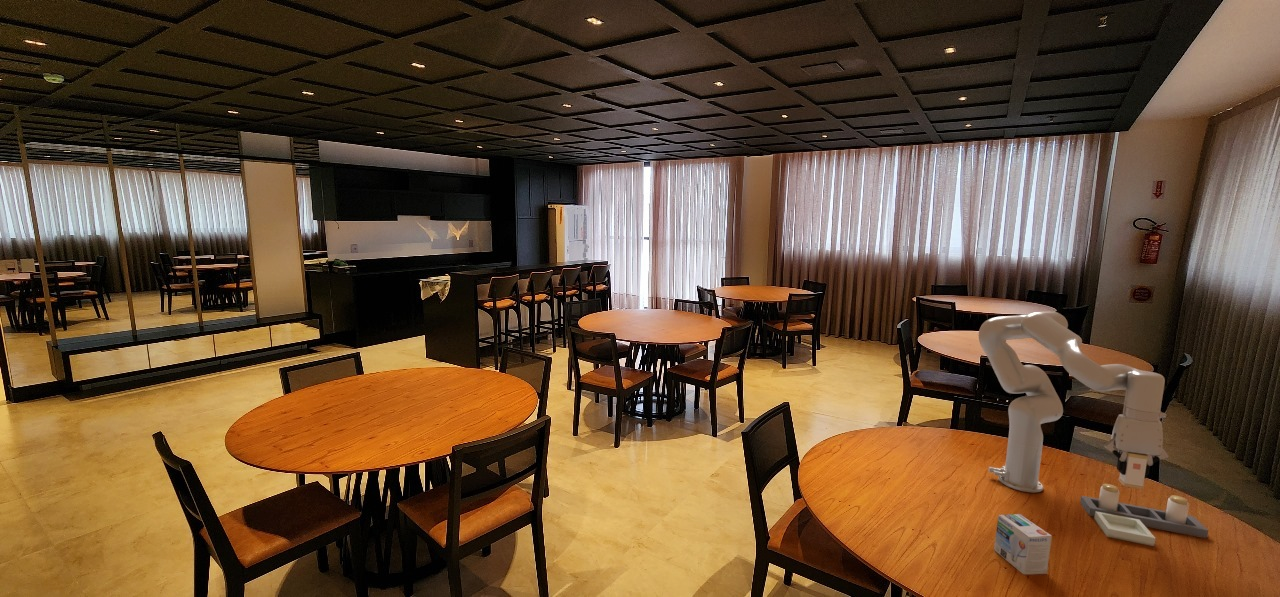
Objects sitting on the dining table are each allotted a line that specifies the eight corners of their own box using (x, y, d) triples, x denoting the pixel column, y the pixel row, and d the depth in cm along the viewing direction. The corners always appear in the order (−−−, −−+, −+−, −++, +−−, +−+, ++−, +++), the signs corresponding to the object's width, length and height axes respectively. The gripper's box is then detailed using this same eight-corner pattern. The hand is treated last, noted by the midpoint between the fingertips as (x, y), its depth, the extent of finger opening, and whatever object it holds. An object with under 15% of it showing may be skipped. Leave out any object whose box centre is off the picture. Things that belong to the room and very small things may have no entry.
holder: (1089, 515, 162) (1090, 508, 162) (1080, 502, 170) (1081, 495, 169) (1206, 538, 151) (1208, 530, 150) (1191, 523, 158) (1193, 516, 158)
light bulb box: (992, 550, 144) (996, 513, 143) (1015, 549, 145) (1019, 513, 143) (1024, 575, 134) (1028, 536, 132) (1048, 574, 134) (1053, 535, 133)
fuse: (1118, 480, 154) (1123, 448, 153) (1136, 483, 152) (1141, 450, 151) (1124, 486, 150) (1129, 453, 149) (1143, 489, 148) (1148, 456, 147)
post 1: (1100, 515, 162) (1104, 488, 161) (1095, 508, 166) (1098, 481, 165) (1118, 518, 161) (1122, 491, 159) (1112, 511, 164) (1116, 484, 163)
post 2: (1168, 528, 156) (1172, 500, 154) (1161, 520, 160) (1165, 493, 158) (1188, 531, 154) (1192, 503, 153) (1180, 524, 158) (1185, 496, 156)
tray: (1107, 536, 151) (1108, 528, 151) (1094, 518, 160) (1095, 511, 160) (1154, 546, 147) (1155, 538, 146) (1138, 527, 156) (1139, 519, 156)
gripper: (1173, 414, 148) (1164, 475, 151) (1098, 405, 155) (1090, 463, 158) (1187, 423, 141) (1177, 486, 144) (1108, 413, 148) (1100, 474, 151)
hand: (1132, 473), depth 151 cm, fingers closed on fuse, 4 cm apart
